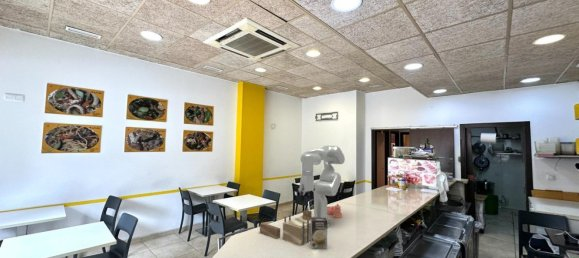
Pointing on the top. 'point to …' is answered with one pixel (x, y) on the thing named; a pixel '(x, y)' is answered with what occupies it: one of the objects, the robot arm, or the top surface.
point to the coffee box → (318, 233)
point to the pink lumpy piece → (334, 211)
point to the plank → (270, 230)
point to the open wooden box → (296, 233)
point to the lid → (302, 219)
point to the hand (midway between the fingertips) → (307, 199)
